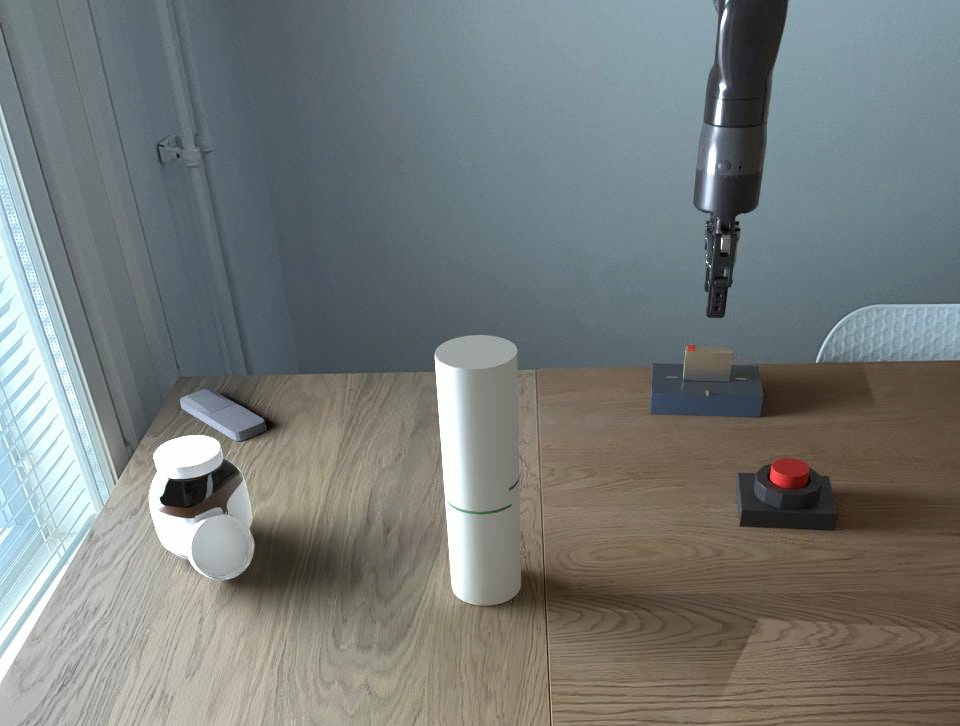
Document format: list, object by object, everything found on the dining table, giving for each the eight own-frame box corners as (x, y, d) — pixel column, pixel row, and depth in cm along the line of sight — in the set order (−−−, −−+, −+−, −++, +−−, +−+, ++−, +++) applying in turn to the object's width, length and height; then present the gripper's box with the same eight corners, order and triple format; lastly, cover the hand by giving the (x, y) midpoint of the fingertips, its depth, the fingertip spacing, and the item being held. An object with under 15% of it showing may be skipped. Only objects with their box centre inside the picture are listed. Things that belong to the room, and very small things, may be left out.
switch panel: (755, 384, 133) (758, 362, 131) (760, 419, 126) (764, 396, 124) (651, 381, 135) (652, 360, 133) (649, 416, 127) (651, 393, 125)
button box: (825, 492, 112) (831, 461, 109) (834, 531, 105) (841, 499, 103) (735, 488, 113) (739, 458, 110) (739, 526, 107) (743, 495, 104)
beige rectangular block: (729, 376, 129) (733, 345, 126) (729, 381, 127) (733, 350, 125) (682, 375, 129) (685, 344, 127) (682, 380, 128) (686, 349, 126)
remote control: (270, 433, 129) (209, 395, 137) (268, 421, 128) (206, 383, 136) (238, 446, 127) (178, 407, 135) (236, 434, 126) (175, 395, 134)
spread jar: (213, 514, 113) (190, 422, 106) (293, 536, 109) (275, 443, 102) (141, 569, 105) (111, 474, 98) (224, 596, 101) (199, 499, 93)
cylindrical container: (533, 575, 101) (531, 343, 86) (499, 613, 97) (491, 375, 81) (474, 557, 104) (462, 329, 89) (438, 593, 100) (418, 359, 84)
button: (805, 472, 108) (808, 458, 107) (809, 491, 105) (812, 477, 104) (768, 471, 109) (770, 457, 108) (770, 490, 106) (773, 475, 105)
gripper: (768, 181, 106) (748, 327, 116) (759, 147, 117) (741, 284, 127) (697, 181, 107) (683, 325, 117) (695, 148, 118) (682, 283, 128)
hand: (713, 303), depth 122 cm, fingers open, 8 cm apart
